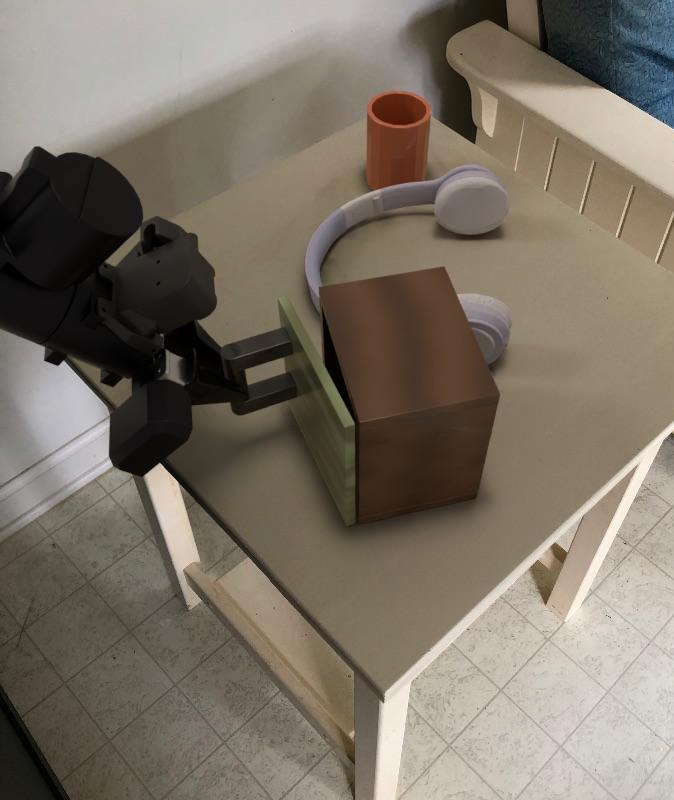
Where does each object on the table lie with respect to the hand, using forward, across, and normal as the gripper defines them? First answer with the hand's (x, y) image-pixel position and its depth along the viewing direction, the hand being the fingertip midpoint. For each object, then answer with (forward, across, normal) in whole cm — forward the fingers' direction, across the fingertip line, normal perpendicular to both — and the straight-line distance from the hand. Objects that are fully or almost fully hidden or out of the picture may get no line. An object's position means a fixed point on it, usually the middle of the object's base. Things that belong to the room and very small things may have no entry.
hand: (243, 386), depth 64 cm
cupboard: (+14, -2, -3) cm, 14 cm away
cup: (+18, +33, -8) cm, 39 cm away
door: (+7, -4, +3) cm, 9 cm away
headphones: (+17, +17, -6) cm, 25 cm away
